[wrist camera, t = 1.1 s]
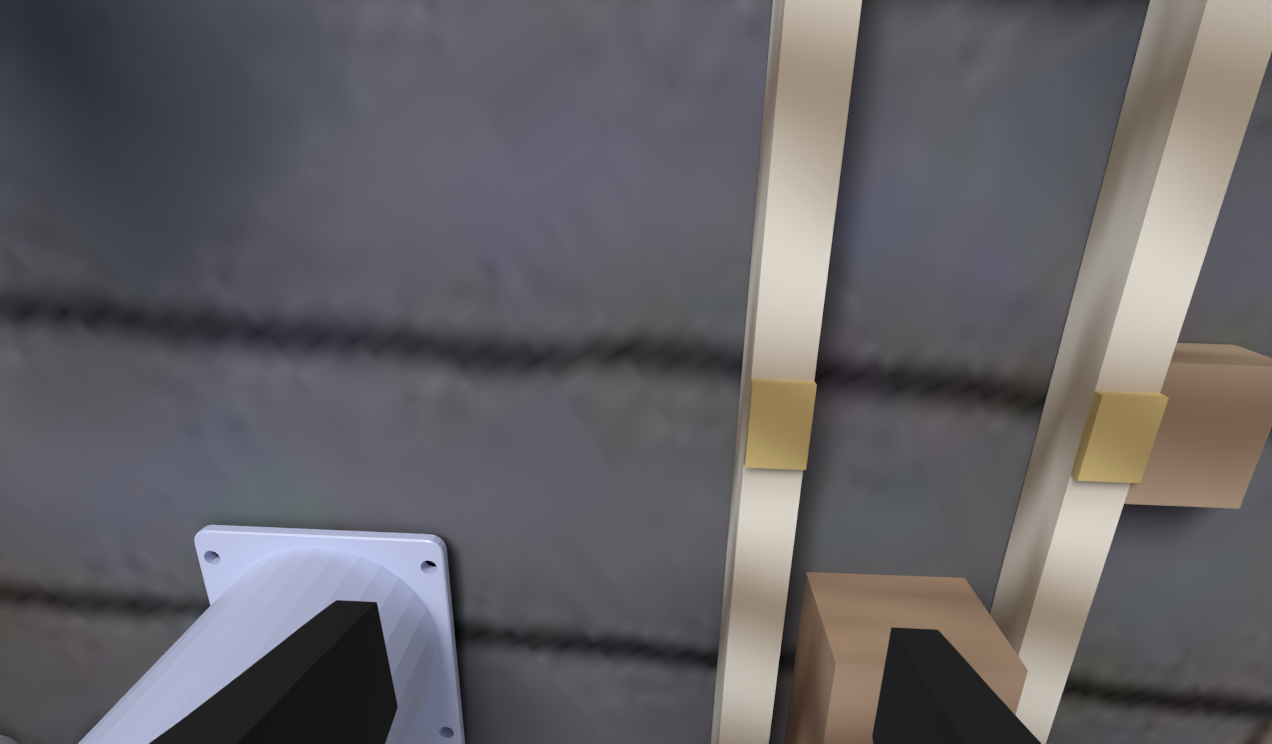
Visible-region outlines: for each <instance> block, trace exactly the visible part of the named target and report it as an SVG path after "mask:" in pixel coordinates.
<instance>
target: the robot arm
mask: <svg viewBox="0 0 1272 744" xmlns="http://www.w3.org/2000/svg"><path fill="white" fill-rule="evenodd" d="M194 539H195V547H196V550H197V554H198V558H199V562H200V566H201V570H202V574H203V578H204V582H205V586H206V590H207V594H208V598H209V602H210V607H209V608H208V609H207V610H206V611H205V612H204V613H203V614H202V615H201V616H200V617H199V618H198V619H197V621H196V622H195V623H194V624H193V625H192V626H191V627H190V628H189V629H188V630H187V631H186V632H185V633H184V634H183V635H182V636H181V637H180V638H179V639H178V640H177V641H176V642H175V643H174V644H173V645H172V647H171V648H170V649H169V650H168V651H167V652H166V653H165V654H164V655H163V656H162V657H161V658H160V659H159V660H158V661H157V662H156V663H155V664H154V665H153V666H152V667H151V668H150V669H149V670H148V671H147V672H146V674H145V675H144V676H143V677H142V678H141V679H140V680H139V681H138V682H137V683H136V684H135V685H134V686H133V687H132V688H131V689H130V690H129V691H128V692H127V693H126V694H125V695H124V696H123V697H122V698H121V699H120V701H119V702H118V703H117V704H116V705H115V706H114V707H113V708H112V709H111V710H110V711H109V712H108V713H107V714H106V715H105V716H104V717H103V718H102V719H101V720H100V721H99V722H98V723H97V724H96V725H95V727H94V728H93V729H92V730H91V731H90V732H89V733H88V734H87V735H86V736H85V737H84V738H83V739H82V740H81V741H80V742H79V743H78V744H465V738H464V727H463V716H462V706H461V695H460V685H459V674H458V663H457V653H456V642H455V631H454V621H453V610H452V600H451V589H450V578H449V568H448V557H447V548H446V545H445V543H444V541H443V540H442V539H441V538H439V537H437V536H436V535H431V534H412V533H389V532H366V531H343V530H320V529H297V528H274V527H251V526H228V525H208V526H206V527H204V528H203V529H202V530H201V531H199V532H198V533H197V534H196V536H195V538H194ZM214 552H216V553H217V554H218V555H219V556H220V557H219V556H217V555H215V554H214ZM426 561H432V562H433V563H435V564H436V566H435V567H433V566H429V565H428V564H427V563H426ZM447 727H448V728H447ZM450 728H451V729H450ZM872 739H873V744H1042V743H1041V742H1040V741H1039V740H1038V739H1037V738H1036V737H1035V736H1034V735H1033V734H1032V733H1031V732H1030V731H1029V729H1028V728H1027V727H1026V726H1025V725H1024V724H1023V723H1022V722H1021V721H1020V720H1019V719H1018V717H1017V716H1016V715H1015V714H1014V713H1013V712H1012V711H1011V710H1010V709H1009V708H1008V706H1007V705H1006V704H1005V703H1004V702H1003V701H1002V700H1001V699H1000V698H999V697H998V695H997V694H996V693H995V692H994V691H993V690H992V689H991V688H990V687H989V685H988V684H987V683H986V682H985V681H984V680H983V679H982V678H981V677H980V675H979V674H978V673H977V672H976V671H975V670H974V669H973V668H972V667H971V665H970V664H969V663H968V662H967V661H966V660H965V659H964V658H963V656H962V655H961V654H960V653H959V652H958V651H957V650H956V649H955V648H954V646H953V645H952V644H951V643H950V642H949V641H948V640H947V639H946V638H945V637H944V636H943V635H942V633H941V632H940V631H939V630H936V629H915V628H895V627H891V632H890V638H889V644H888V649H887V655H886V661H885V666H884V672H883V678H882V683H881V689H880V695H879V700H878V706H877V711H876V717H875V723H874V728H873V734H872Z"/></svg>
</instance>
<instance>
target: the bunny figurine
mask: <svg viewBox="0 0 1272 744" xmlns="http://www.w3.org/2000/svg"><path fill="white" fill-rule="evenodd" d="M0 744H18V743H17V742H15V741H14V740H13V739H11V738H10V737H7V736H3V735H0Z"/></svg>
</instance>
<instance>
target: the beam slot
mask: <svg viewBox="0 0 1272 744" xmlns="http://www.w3.org/2000/svg"><path fill="white" fill-rule="evenodd" d="M861 5H862V0H773V6H772V18H771V30H770V42H769V54H768V66H767V78H766V90H765V102H764V114H763V126H762V138H761V150H760V162H759V174H758V186H757V197H756V209H755V221H754V233H753V245H752V257H751V269H750V281H749V293H748V305H747V317H746V329H745V341H744V353H743V365H742V377H741V389H740V401H739V413H738V425H737V437H736V448H735V460H734V472H733V484H732V496H731V508H730V520H729V532H728V544H727V556H726V568H725V580H724V592H723V604H722V616H721V628H720V640H719V652H718V664H717V676H716V688H715V699H714V711H713V723H712V735H711V744H769V738H770V730H771V722H772V714H773V706H774V698H775V690H776V682H777V674H778V666H779V658H780V650H781V642H782V634H783V626H784V618H785V610H786V602H787V594H788V586H789V578H790V570H791V562H792V555H793V547H794V539H795V531H796V523H797V515H798V507H799V499H800V491H801V483H802V475H803V470H806V467H807V459H808V451H809V443H810V435H811V428H812V420H813V412H814V404H815V396H816V388H817V385H816V383H815V381H814V379H815V371H816V363H817V356H818V348H819V340H820V332H821V324H822V316H823V308H824V300H825V292H826V284H827V276H828V268H829V260H830V252H831V244H832V236H833V228H834V220H835V212H836V204H837V196H838V188H839V180H840V172H841V164H842V156H843V149H844V141H845V133H846V125H847V117H848V109H849V101H850V93H851V85H852V77H853V69H854V61H855V53H856V45H857V37H858V29H859V21H860V13H861ZM1271 52H1272V0H1150V3H1149V7H1148V11H1147V14H1146V18H1145V22H1144V26H1143V30H1142V33H1141V37H1140V41H1139V45H1138V49H1137V53H1136V56H1135V60H1134V64H1133V68H1132V72H1131V76H1130V79H1129V83H1128V87H1127V91H1126V95H1125V99H1124V102H1123V106H1122V110H1121V114H1120V118H1119V122H1118V125H1117V129H1116V133H1115V137H1114V141H1113V145H1112V148H1111V152H1110V156H1109V160H1108V164H1107V167H1106V171H1105V175H1104V179H1103V183H1102V187H1101V190H1100V194H1099V198H1098V202H1097V206H1096V210H1095V213H1094V217H1093V221H1092V225H1091V229H1090V233H1089V236H1088V240H1087V244H1086V248H1085V252H1084V256H1083V259H1082V263H1081V267H1080V271H1079V275H1078V279H1077V282H1076V286H1075V290H1074V294H1073V298H1072V301H1071V305H1070V309H1069V313H1068V317H1067V321H1066V324H1065V328H1064V332H1063V336H1062V340H1061V344H1060V347H1059V351H1058V355H1057V359H1056V363H1055V367H1054V370H1053V374H1052V378H1051V382H1050V386H1049V390H1048V393H1047V397H1046V401H1045V405H1044V409H1043V413H1042V416H1041V420H1040V424H1039V428H1038V432H1037V435H1036V439H1035V443H1034V447H1033V451H1032V455H1031V458H1030V462H1029V466H1028V470H1027V474H1026V478H1025V481H1024V485H1023V489H1022V493H1021V497H1020V501H1019V504H1018V508H1017V512H1016V516H1015V520H1014V524H1013V527H1012V531H1011V535H1010V539H1009V543H1008V546H1007V550H1006V554H1005V558H1004V562H1003V566H1002V569H1001V573H1000V577H999V581H998V585H997V589H996V592H995V596H994V600H993V604H992V608H991V612H990V615H991V617H992V618H993V620H994V621H995V623H996V624H997V626H998V627H999V629H1000V630H1001V632H1002V633H1003V634H1004V636H1005V637H1006V639H1007V640H1008V642H1009V643H1010V645H1011V646H1012V648H1013V649H1014V651H1015V652H1016V654H1017V655H1018V656H1019V658H1020V659H1021V661H1022V662H1023V664H1024V665H1025V667H1026V668H1027V670H1028V673H1027V676H1026V680H1025V683H1024V687H1023V690H1022V694H1021V697H1020V701H1019V704H1018V708H1017V711H1016V716H1017V717H1018V719H1019V720H1020V721H1021V722H1022V723H1023V724H1024V725H1025V726H1026V727H1027V728H1028V729H1029V731H1030V732H1031V733H1032V734H1033V735H1034V736H1035V737H1036V738H1037V739H1038V740H1039V741H1040V742H1041V743H1042V744H1046V741H1047V738H1048V735H1049V732H1050V729H1051V726H1052V723H1053V720H1054V717H1055V714H1056V711H1057V708H1058V705H1059V702H1060V698H1061V695H1062V692H1063V689H1064V686H1065V683H1066V680H1067V677H1068V674H1069V671H1070V668H1071V665H1072V662H1073V659H1074V656H1075V652H1076V649H1077V646H1078V643H1079V640H1080V637H1081V634H1082V631H1083V628H1084V625H1085V622H1086V619H1087V616H1088V613H1089V610H1090V607H1091V603H1092V600H1093V597H1094V594H1095V591H1096V588H1097V585H1098V582H1099V579H1100V576H1101V573H1102V570H1103V567H1104V564H1105V561H1106V557H1107V554H1108V551H1109V548H1110V545H1111V542H1112V539H1113V536H1114V533H1115V530H1116V527H1117V524H1118V521H1119V518H1120V515H1121V511H1122V508H1123V505H1124V504H1139V505H1164V506H1188V507H1213V508H1238V509H1239V508H1240V505H1241V503H1242V500H1243V498H1244V495H1245V493H1246V490H1247V488H1248V485H1249V483H1250V480H1251V478H1252V475H1253V473H1254V470H1255V468H1256V465H1257V463H1258V460H1259V458H1260V455H1261V453H1262V450H1263V448H1264V445H1265V443H1266V440H1267V438H1268V435H1269V433H1270V430H1271V428H1272V358H1269V357H1266V356H1264V355H1261V354H1258V353H1256V352H1253V351H1250V350H1248V349H1245V348H1242V347H1239V346H1237V345H1226V344H1195V343H1177V340H1178V337H1179V334H1180V331H1181V328H1182V324H1183V321H1184V318H1185V315H1186V312H1187V309H1188V306H1189V303H1190V300H1191V297H1192V294H1193V291H1194V288H1195V285H1196V282H1197V278H1198V275H1199V272H1200V269H1201V266H1202V263H1203V260H1204V257H1205V254H1206V251H1207V248H1208V245H1209V242H1210V239H1211V236H1212V233H1213V229H1214V226H1215V223H1216V220H1217V217H1218V214H1219V211H1220V208H1221V205H1222V202H1223V199H1224V196H1225V193H1226V190H1227V187H1228V183H1229V180H1230V177H1231V174H1232V171H1233V168H1234V165H1235V162H1236V159H1237V156H1238V153H1239V150H1240V147H1241V144H1242V141H1243V137H1244V134H1245V131H1246V128H1247V125H1248V122H1249V119H1250V116H1251V113H1252V110H1253V107H1254V104H1255V101H1256V98H1257V95H1258V91H1259V88H1260V85H1261V82H1262V79H1263V76H1264V73H1265V70H1266V67H1267V64H1268V61H1269V58H1270V55H1271Z"/></svg>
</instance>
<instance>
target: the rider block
mask: <svg viewBox="0 0 1272 744" xmlns="http://www.w3.org/2000/svg"><path fill="white" fill-rule="evenodd" d="M891 627H895V628H915V629H936V630H939V631H940V632H941V633H942V635H943V636H944V637H945V638H946V639H947V640H948V641H949V642H950V643H951V644H952V645H953V646H954V648H955V649H956V650H957V651H958V652H959V653H960V654H961V655H962V656H963V658H964V659H965V660H966V661H967V662H968V663H969V664H970V665H971V667H972V668H973V669H974V670H975V671H976V672H977V673H978V674H979V675H980V677H981V678H982V679H983V680H984V681H985V682H986V683H987V684H988V685H989V687H990V688H991V689H992V690H993V691H994V692H995V693H996V694H997V695H998V697H999V698H1000V699H1001V700H1002V701H1003V702H1004V703H1005V704H1006V705H1007V706H1008V708H1009V709H1010V710H1011V711H1012V712H1013V713H1014V714H1015V715H1016V711H1017V708H1018V704H1019V701H1020V697H1021V694H1022V690H1023V687H1024V683H1025V680H1026V676H1027V673H1028V670H1027V668H1026V667H1025V665H1024V664H1023V662H1022V661H1021V659H1020V658H1019V656H1018V655H1017V654H1016V652H1015V651H1014V649H1013V648H1012V646H1011V645H1010V643H1009V642H1008V640H1007V639H1006V637H1005V636H1004V634H1003V633H1002V632H1001V630H1000V629H999V627H998V626H997V624H996V623H995V621H994V620H993V618H992V617H991V615H990V614H989V613H988V611H987V610H986V608H985V607H984V605H983V604H982V602H981V601H980V599H979V598H978V596H977V595H976V594H975V592H974V591H973V589H972V588H971V586H970V585H969V583H968V582H967V580H966V579H965V578H950V577H923V576H897V575H870V574H844V573H817V572H806V576H805V584H804V592H803V600H802V608H801V616H800V624H799V632H798V640H797V648H796V656H795V663H794V671H793V679H792V687H791V695H790V703H789V711H788V719H787V727H786V735H785V743H784V744H873V739H872V734H873V728H874V723H875V717H876V711H877V706H878V700H879V695H880V689H881V683H882V678H883V672H884V666H885V661H886V655H887V649H888V644H889V638H890V632H891Z"/></svg>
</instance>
